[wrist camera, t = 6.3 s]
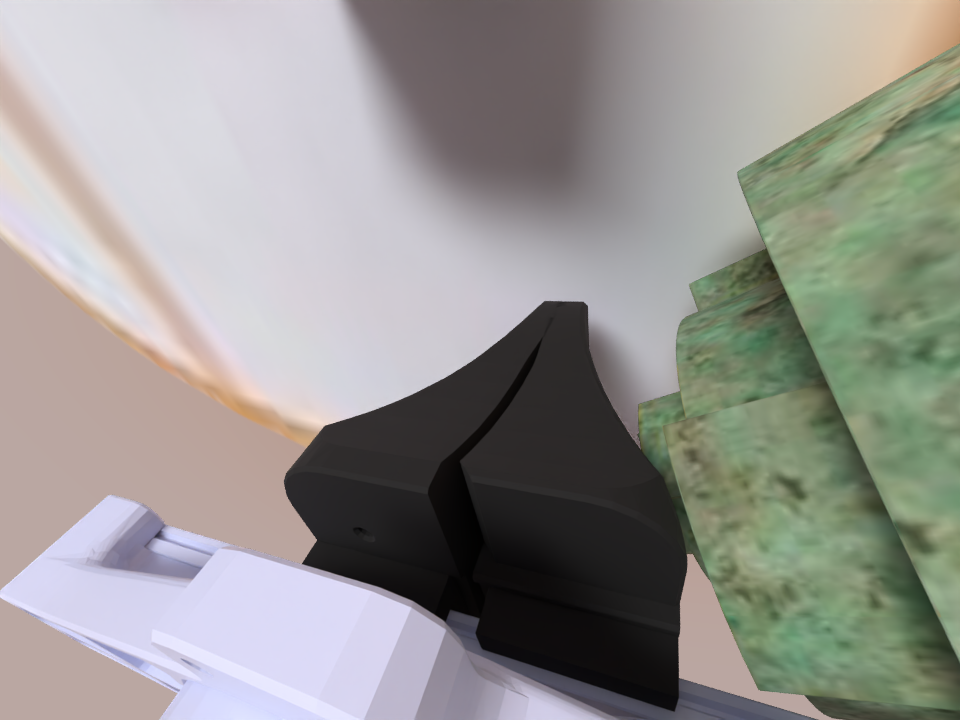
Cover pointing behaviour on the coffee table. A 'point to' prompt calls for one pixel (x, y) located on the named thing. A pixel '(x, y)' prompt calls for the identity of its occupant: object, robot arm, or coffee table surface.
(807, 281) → the decorative artifact
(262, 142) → the coffee table surface
